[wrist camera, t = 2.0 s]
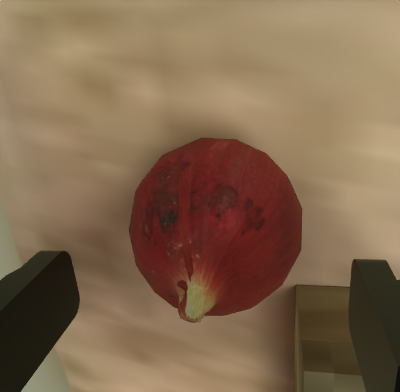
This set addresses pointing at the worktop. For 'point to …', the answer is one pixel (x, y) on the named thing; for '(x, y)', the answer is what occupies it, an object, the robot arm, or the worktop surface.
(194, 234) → the onion
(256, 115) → the worktop surface
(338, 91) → the worktop surface
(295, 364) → the tray
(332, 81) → the worktop surface
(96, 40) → the worktop surface
